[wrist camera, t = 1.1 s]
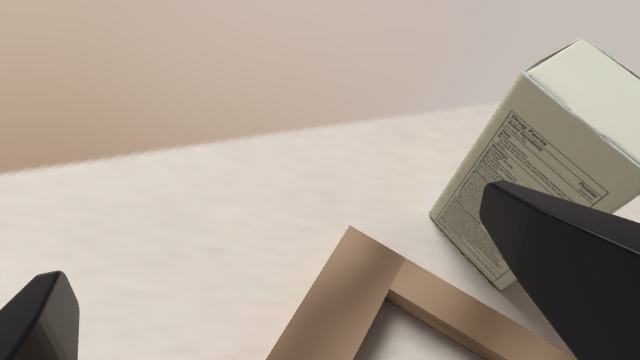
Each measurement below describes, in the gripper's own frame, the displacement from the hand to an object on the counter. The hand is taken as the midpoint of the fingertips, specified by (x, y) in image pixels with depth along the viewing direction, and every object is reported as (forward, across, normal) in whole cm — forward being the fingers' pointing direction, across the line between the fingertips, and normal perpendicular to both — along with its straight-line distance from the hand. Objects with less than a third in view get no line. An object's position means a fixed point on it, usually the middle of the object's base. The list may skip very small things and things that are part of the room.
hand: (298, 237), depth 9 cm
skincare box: (+10, -14, +12) cm, 21 cm away
